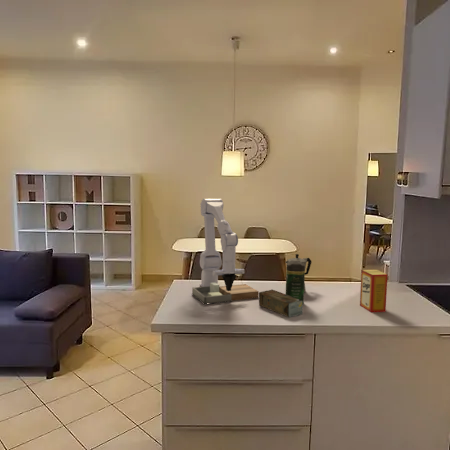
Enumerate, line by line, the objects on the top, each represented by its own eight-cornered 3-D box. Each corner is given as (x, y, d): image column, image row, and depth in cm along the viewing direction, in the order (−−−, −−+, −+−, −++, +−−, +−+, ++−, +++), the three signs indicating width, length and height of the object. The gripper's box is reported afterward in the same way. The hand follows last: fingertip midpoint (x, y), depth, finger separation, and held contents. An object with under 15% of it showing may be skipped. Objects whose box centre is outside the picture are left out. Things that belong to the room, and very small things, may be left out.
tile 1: (214, 292, 196) (209, 293, 195) (214, 282, 195) (209, 282, 194) (219, 295, 192) (214, 296, 190) (219, 284, 191) (214, 285, 190)
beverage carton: (288, 318, 164) (288, 301, 163) (257, 305, 180) (257, 290, 179) (303, 314, 168) (303, 298, 168) (271, 302, 184) (272, 288, 183)
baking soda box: (385, 311, 173) (387, 273, 171) (370, 312, 172) (372, 274, 170) (373, 304, 182) (375, 268, 180) (359, 305, 181) (361, 269, 179)
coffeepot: (290, 294, 197) (292, 256, 195) (279, 289, 205) (280, 253, 203) (316, 290, 204) (317, 254, 202) (304, 286, 212) (305, 251, 210)
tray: (192, 294, 195) (192, 287, 195) (217, 292, 200) (217, 285, 200) (204, 304, 180) (204, 297, 179) (231, 301, 184) (231, 294, 184)
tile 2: (218, 291, 189) (218, 297, 189) (207, 292, 187) (207, 298, 187) (222, 294, 184) (222, 300, 184) (211, 295, 182) (211, 301, 182)
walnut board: (218, 292, 198) (218, 286, 198) (245, 290, 204) (245, 284, 203) (230, 300, 186) (230, 294, 185) (258, 297, 191) (258, 291, 191)
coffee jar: (304, 306, 178) (306, 263, 176) (285, 306, 179) (286, 263, 177) (302, 300, 188) (303, 259, 186) (284, 299, 188) (285, 258, 186)
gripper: (217, 263, 180) (216, 294, 182) (247, 261, 186) (247, 291, 187) (211, 260, 187) (211, 290, 188) (240, 258, 192) (240, 287, 194)
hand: (228, 290), depth 188 cm, fingers closed
